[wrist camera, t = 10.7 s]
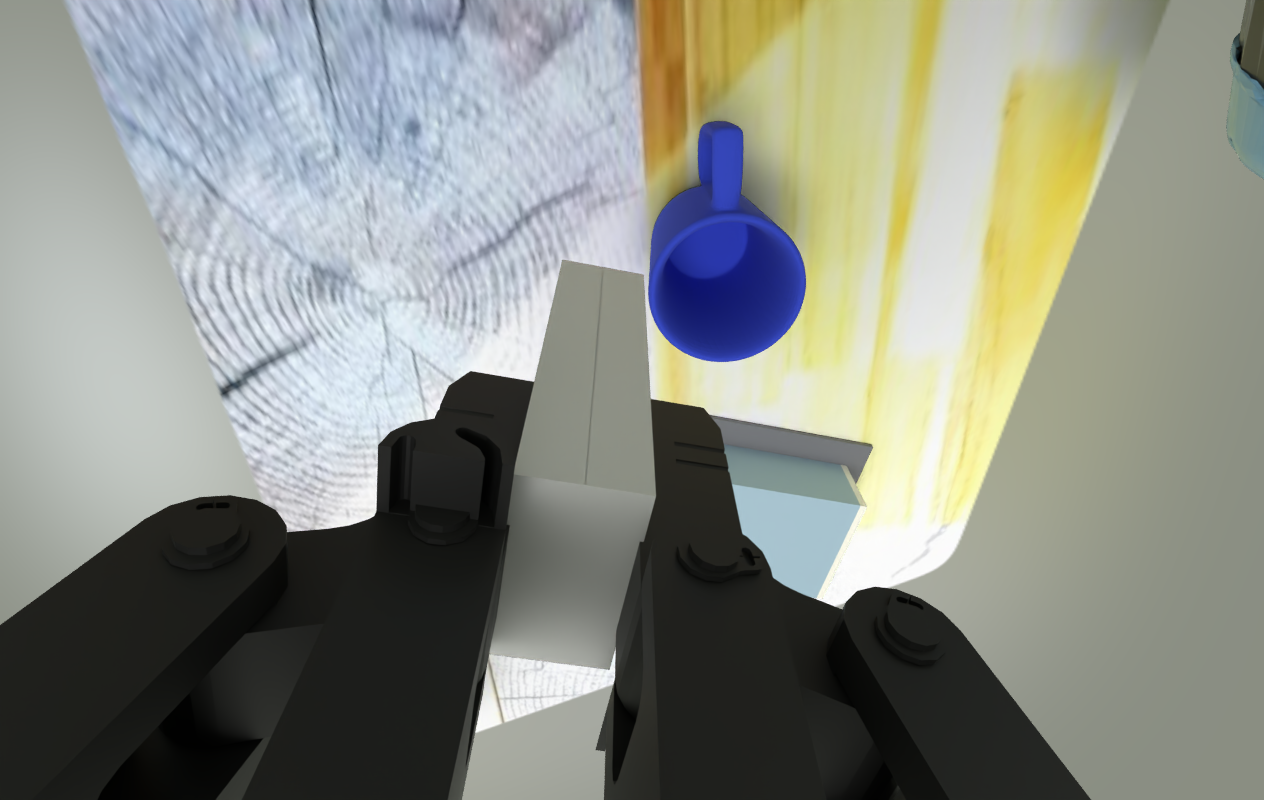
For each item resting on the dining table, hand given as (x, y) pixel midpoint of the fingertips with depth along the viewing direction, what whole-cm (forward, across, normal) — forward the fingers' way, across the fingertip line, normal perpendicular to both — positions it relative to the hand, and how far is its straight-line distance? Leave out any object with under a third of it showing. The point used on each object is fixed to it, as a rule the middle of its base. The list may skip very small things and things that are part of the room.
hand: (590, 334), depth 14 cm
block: (+30, +6, -26) cm, 40 cm away
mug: (+33, +7, -5) cm, 34 cm away
